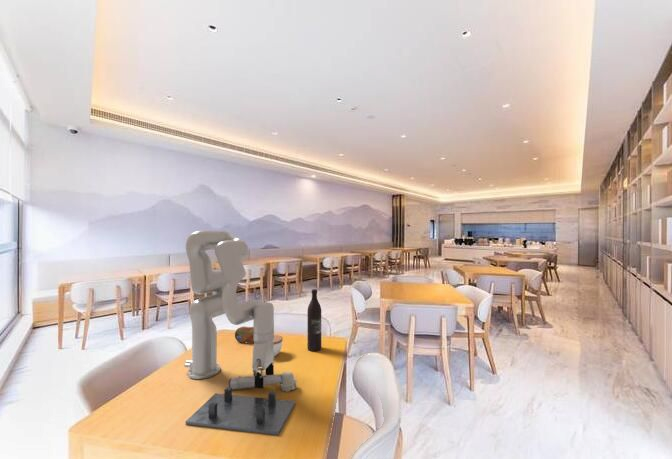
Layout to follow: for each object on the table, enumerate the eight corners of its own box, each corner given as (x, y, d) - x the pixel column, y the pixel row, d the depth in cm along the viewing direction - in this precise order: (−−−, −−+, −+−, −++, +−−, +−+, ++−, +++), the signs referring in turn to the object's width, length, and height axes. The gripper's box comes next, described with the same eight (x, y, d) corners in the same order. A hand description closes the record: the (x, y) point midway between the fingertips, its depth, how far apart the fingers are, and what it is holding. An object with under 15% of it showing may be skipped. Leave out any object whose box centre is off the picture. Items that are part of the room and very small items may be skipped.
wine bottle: (310, 352, 145) (310, 291, 145) (305, 347, 152) (305, 289, 152) (323, 350, 148) (323, 290, 148) (318, 345, 154) (318, 288, 155)
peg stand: (185, 424, 91) (185, 408, 91) (215, 396, 107) (215, 382, 107) (278, 435, 86) (278, 418, 86) (295, 404, 102) (295, 389, 102)
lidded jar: (256, 354, 144) (256, 334, 144) (275, 348, 151) (275, 329, 151) (267, 361, 136) (267, 340, 136) (286, 354, 143) (286, 335, 143)
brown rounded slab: (234, 342, 159) (234, 327, 159) (237, 340, 162) (237, 325, 162) (260, 344, 156) (260, 328, 156) (263, 342, 159) (263, 326, 159)
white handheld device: (232, 375, 115) (295, 366, 114) (234, 392, 115) (298, 383, 114) (227, 382, 110) (293, 373, 109) (229, 399, 109) (296, 390, 109)
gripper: (263, 328, 121) (264, 370, 121) (243, 343, 104) (244, 392, 104) (281, 329, 120) (281, 371, 120) (263, 344, 103) (264, 394, 103)
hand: (264, 381), depth 112 cm, fingers open, 9 cm apart
